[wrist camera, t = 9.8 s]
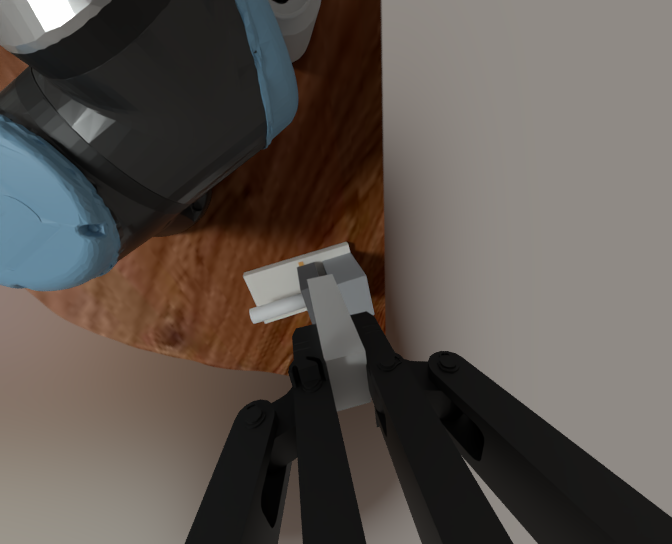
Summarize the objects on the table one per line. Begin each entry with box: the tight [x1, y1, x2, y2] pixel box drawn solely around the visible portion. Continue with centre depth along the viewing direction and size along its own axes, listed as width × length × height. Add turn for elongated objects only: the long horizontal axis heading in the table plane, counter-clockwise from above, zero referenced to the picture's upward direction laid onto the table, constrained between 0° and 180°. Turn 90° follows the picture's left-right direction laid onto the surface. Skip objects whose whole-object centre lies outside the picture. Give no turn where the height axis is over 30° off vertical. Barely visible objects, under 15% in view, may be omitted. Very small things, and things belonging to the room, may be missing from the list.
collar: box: [297, 262, 319, 324], centre depth 42 cm, size 3×8×8 cm, turn 14°
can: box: [268, 0, 321, 63], centre depth 26 cm, size 8×8×12 cm
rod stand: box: [243, 242, 374, 324], centre depth 42 cm, size 18×10×10 cm, turn 104°
